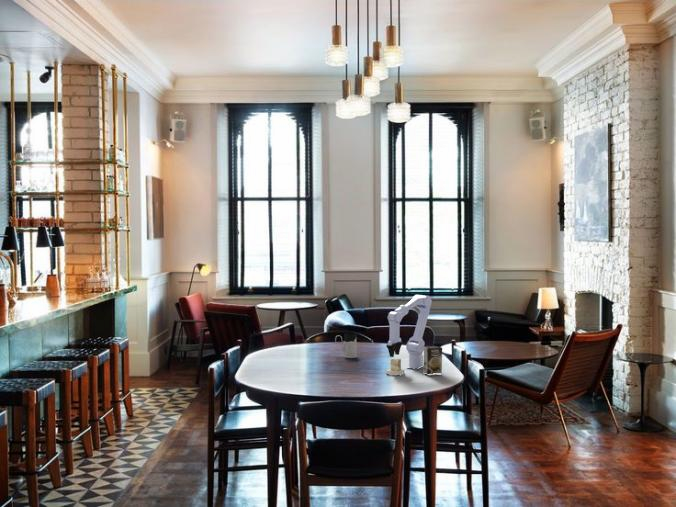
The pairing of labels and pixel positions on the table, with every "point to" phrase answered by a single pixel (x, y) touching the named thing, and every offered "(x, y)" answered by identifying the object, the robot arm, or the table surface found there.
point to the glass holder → (349, 345)
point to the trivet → (394, 372)
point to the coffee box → (432, 359)
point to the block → (396, 364)
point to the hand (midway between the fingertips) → (394, 355)
